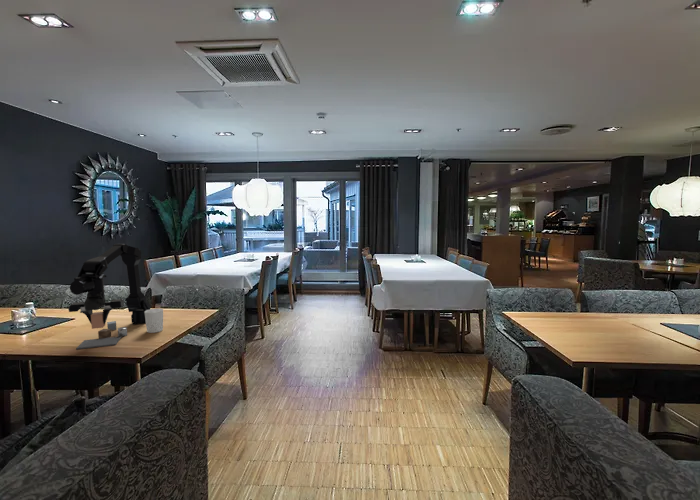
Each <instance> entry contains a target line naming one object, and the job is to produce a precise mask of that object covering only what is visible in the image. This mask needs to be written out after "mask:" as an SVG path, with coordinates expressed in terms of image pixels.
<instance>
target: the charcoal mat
mask: <svg viewBox="0 0 700 500" xmlns="http://www.w3.org/2000/svg"><path fill="white" fill-rule="evenodd" d="M121 339H122V337H121V336H118V335H117V336H111V337H109V338H100V339H99V338H92V339H85V340H82V342H81V343H80V344H79V345H78V346H77V347H76V350H77V351H78V350H84V349H86V350H87V349H94V348H102V347H110V346H116V345H117V344H118V343H119V341H120V340H121Z"/></svg>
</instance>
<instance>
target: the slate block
mask: <svg viewBox="0 0 700 500" xmlns="http://www.w3.org/2000/svg"><path fill="white" fill-rule="evenodd" d="M106 325H107V329H111V331H115V330H116V329H117V330H118V328H117V320H114V321H113V320H112V321H106Z"/></svg>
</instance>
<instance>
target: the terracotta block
mask: <svg viewBox="0 0 700 500" xmlns="http://www.w3.org/2000/svg"><path fill="white" fill-rule="evenodd" d="M103 314H104V313H103V311H96V312H93V314H91V323H90V324H91V329H104V327H105V326H106V323H105V324H104V323H103Z"/></svg>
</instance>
